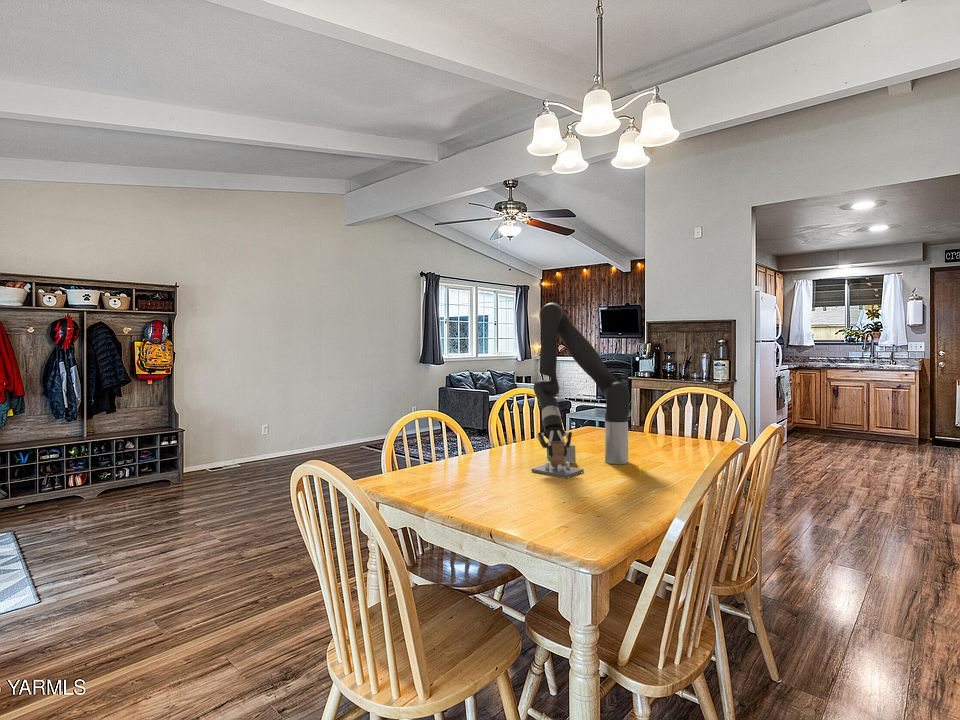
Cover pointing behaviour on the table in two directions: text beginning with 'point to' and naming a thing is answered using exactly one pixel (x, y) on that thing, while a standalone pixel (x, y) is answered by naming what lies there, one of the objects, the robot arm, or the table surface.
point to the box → (568, 454)
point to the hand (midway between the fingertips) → (558, 455)
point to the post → (557, 453)
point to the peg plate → (557, 470)
